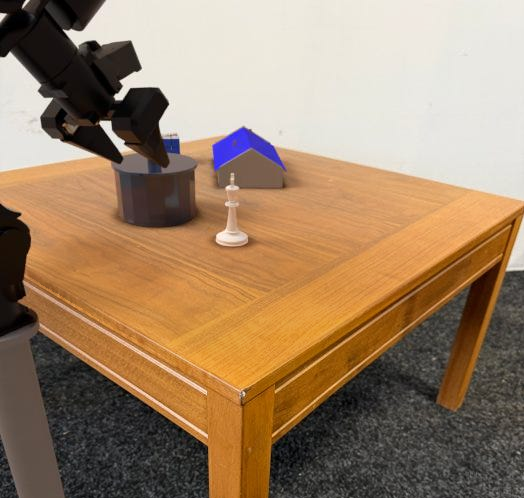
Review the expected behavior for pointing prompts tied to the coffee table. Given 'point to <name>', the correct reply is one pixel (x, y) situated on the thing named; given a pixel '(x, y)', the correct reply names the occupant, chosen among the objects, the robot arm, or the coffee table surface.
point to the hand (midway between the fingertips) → (143, 163)
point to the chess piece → (232, 220)
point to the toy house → (247, 161)
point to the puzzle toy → (171, 142)
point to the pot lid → (154, 166)
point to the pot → (156, 199)
